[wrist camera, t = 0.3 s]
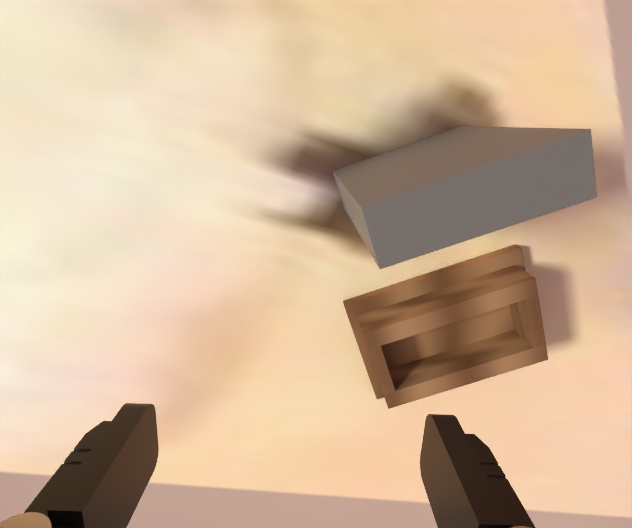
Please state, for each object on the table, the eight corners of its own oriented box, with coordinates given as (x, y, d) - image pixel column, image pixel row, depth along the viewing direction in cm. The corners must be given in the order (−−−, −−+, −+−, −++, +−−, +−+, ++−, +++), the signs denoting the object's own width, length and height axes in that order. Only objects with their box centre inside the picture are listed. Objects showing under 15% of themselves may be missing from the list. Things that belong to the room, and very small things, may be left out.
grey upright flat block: (344, 207, 31) (379, 269, 18) (332, 171, 30) (361, 207, 17) (467, 165, 31) (596, 197, 18) (459, 126, 30) (590, 129, 17)
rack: (374, 392, 37) (383, 422, 34) (343, 301, 34) (349, 323, 30) (531, 343, 36) (559, 369, 33) (514, 244, 33) (542, 260, 29)
